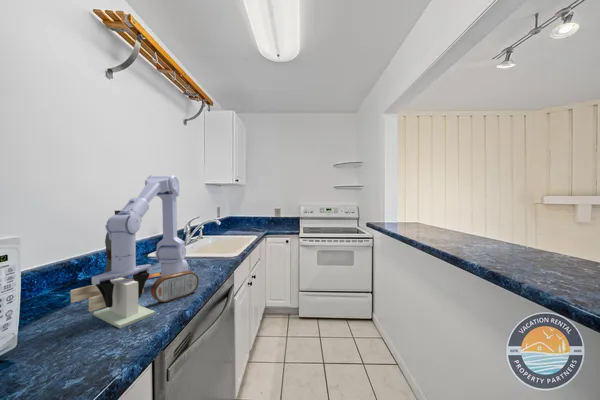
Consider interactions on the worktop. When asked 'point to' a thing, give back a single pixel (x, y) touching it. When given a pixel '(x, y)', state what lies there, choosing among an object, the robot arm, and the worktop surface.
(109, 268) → the bottle
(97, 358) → the worktop surface
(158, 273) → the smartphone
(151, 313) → the mat
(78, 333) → the worktop surface
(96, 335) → the worktop surface
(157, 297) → the tin
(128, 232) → the robot arm
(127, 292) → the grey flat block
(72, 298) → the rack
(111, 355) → the worktop surface
